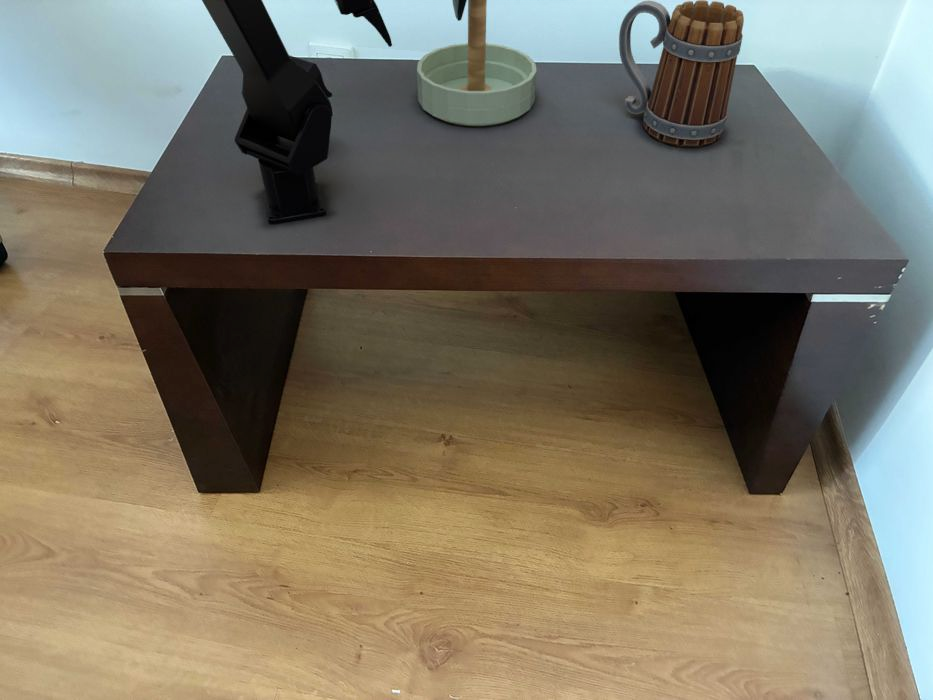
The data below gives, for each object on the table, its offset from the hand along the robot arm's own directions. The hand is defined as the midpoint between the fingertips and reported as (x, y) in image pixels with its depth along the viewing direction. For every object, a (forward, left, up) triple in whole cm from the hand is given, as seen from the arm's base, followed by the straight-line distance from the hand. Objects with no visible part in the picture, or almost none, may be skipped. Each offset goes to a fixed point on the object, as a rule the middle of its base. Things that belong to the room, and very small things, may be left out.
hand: (424, 31), depth 88 cm
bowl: (+3, -8, -12) cm, 14 cm away
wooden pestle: (+3, -8, -11) cm, 14 cm away
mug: (-11, -30, -12) cm, 34 cm away
